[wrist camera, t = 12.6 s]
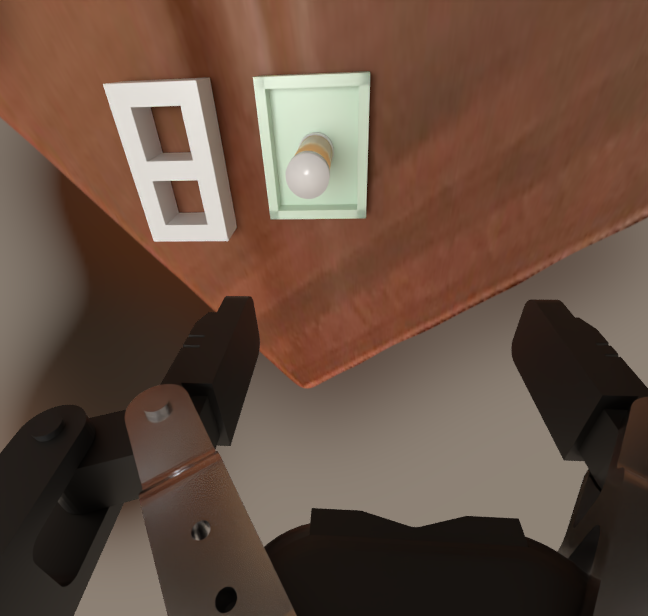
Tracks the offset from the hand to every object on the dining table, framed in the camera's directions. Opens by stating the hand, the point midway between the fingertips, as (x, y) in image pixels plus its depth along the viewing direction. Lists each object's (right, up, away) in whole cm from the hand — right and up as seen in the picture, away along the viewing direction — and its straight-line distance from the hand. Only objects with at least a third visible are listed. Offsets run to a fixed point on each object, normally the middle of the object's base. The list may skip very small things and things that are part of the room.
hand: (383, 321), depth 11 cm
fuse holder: (-18, +17, +31) cm, 39 cm away
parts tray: (-3, +18, +29) cm, 34 cm away
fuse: (-3, +17, +29) cm, 34 cm away
